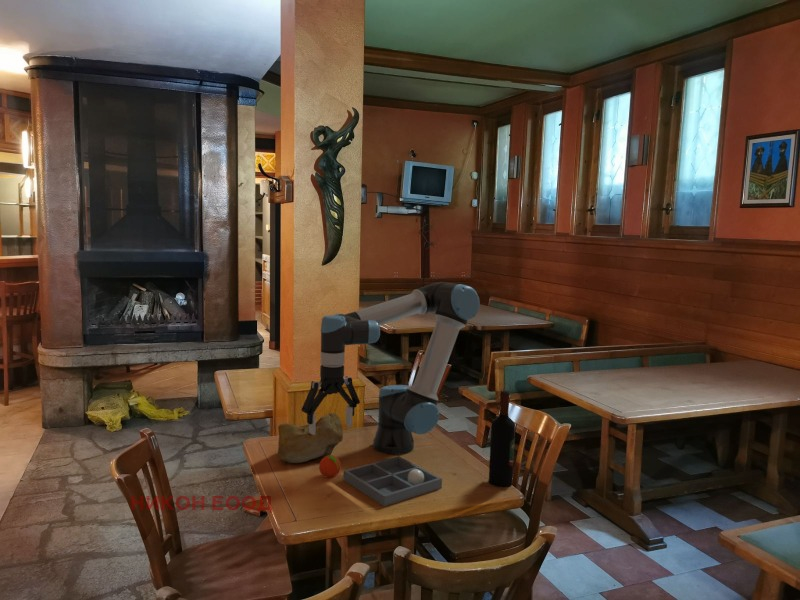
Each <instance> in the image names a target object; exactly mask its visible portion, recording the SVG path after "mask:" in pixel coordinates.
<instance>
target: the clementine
mask: <svg viewBox="0 0 800 600" xmlns="http://www.w3.org/2000/svg"><path fill="white" fill-rule="evenodd" d="M341 465H342V464H341V462H340V459H339V458H338V457H336V456H335V455H332V454H331V455H328V456H326V457H323V458H322V459H321V460H320V461H319V466H318V468H319V472H320V473H321V475H322V476H323V477H324V478H334V477H335V476H338V474H339V473H340V472H341Z"/></svg>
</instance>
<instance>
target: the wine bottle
mask: <svg viewBox="0 0 800 600" xmlns="http://www.w3.org/2000/svg"><path fill="white" fill-rule="evenodd" d="M499 396H500V398H499V413H498V416H497V417H496V418H494V419H493V420H492V422H491V425H490V427H491V428H490V446H489V447H490V448H489V449H490V450H489V467H488V469H489V470H488V484H490V485H491V486H493V487H496V488H509V487H511V486H512V485H513V477H514V460H515V458H514V455H515V438H516V436H515V435H516V423H515V422H514V421H513V419H511V417H510V416H509V405H510V391H509V390H501V391H500V393H499Z"/></svg>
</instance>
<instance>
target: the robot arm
mask: <svg viewBox="0 0 800 600" xmlns="http://www.w3.org/2000/svg"><path fill="white" fill-rule="evenodd" d="M480 301H481V300H480V297H479V295H478V293H477V291H476V290H475V288H473V287H471V286H469V285H466V284H463V283H452V282H447V281H439V282H435V283H431V284H427V285H425V286H422V287H418V288H416V289H414V290H412V291H411V293H409V294H406V295H405V294H404V295H403V296H400V297H396V298H392V299H390V300H387V301H383V302H381V303H378V304H373V305H371V306H368V307H365V308H362V309H359V310H354V311H352V312H349V313H346V314H343V313H335V314H331V315H328V314H327V315H325V316H323V317H322V318H321V322H320V323H321V324H320V325H321V326H320V364H321V365H320V371H319V372H320V373H319V374H320V375H319V376H320V381H315V380H312V381H311V383H310V389H309V391H308V394H307V395H306V398H305V400H304V403H303V405H302V407H301V409H300V411H301V412H303V413H305V414H306V422H307V425H308V424H309V433H311V434H313V435H315V433H316V423H317V421H316V419H317V414H316V413H315V412H316V410H317V409H318V408H319V406H320V405H321V403H322V401H324V399H325V398H326V397H327V396H330V395H333V394H335V395H336V394H339V395H340V396H341V398H343V400H344V401H345V402H346V404H347V405H346V406H345V426H347V427H349V428H352V427H353V417H354V416H355V408H357V405H360V403H361V401H360V399H359V396H358V394H357V392H356V388H355V387H354V383H353V378H352V377H350V376H346V375H345V365H344V364H345V359H346V358H345V356H346V355H345V353H346V351H345V347H346V346H352V345H354V346H355V345H364V344H365V345H369V344H375V343H377V342H378V341H379V339H380V336H381V328H380V327H381V326H384V325H386V324H390V323H393V322H396V321H398V320H401V319H404V318H408V317H410V316H413V315H416V314H417V315H418V314H419V315H425V314H429V313H434V317H435V320H436V323H435V326H434V328H433V331H432V332H431V336H430V339H429V341H428V345H427V347H426V350H425V351H424V355H423V357H422V360H421V363H420V366H419V368H418V370H417V374H416V376H415V379H414V382H413V384H412V385H410V386H409V385H405V384H390V385H385V386H382V387H381V388H380V389H379V392H378V419H377V420H378V425H377V429H376V432H375V435H374V438H373V440H372V449H374V450H375V451H376V452H379V453H382V454H385V455H386V454H387V455H404V454H407V453H410V452H411V451H412V452H413V450H414V449H415V448H414V447H415V441H414V437H413V433H414V434H416V435H425V434H427V433H428V432H431V431H432V430H433V429H435V427H436V426H437V424H438V422H439V419H440V412H439V408H438V407H437V405H438V403H439V397H438V396H437V393H438V390H439V387H440V384H441V381H442V378H443V376H444V373H445V370H446V368H447V365H448V362H449V360H450V357H451V355H452V352H453V348H454V346H455V344H456V341H457V338H458V335H459V333H460V330H461V329H464V328H465V327H466V326H467V324H468V321H469V320H471V319H473V318H474V317H476V316H477V314H478V313H479V310H480V305H481V304H480V303H481V302H480ZM344 376H345V377H344ZM344 384H345V386H346V388H347V392H348V393H349V395H348V393H347V392H346V390H345V389H344V387H343V386H344Z"/></svg>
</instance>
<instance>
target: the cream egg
mask: <svg viewBox="0 0 800 600" xmlns="http://www.w3.org/2000/svg"><path fill="white" fill-rule="evenodd" d="M408 482H409V483H410V484H412V485H417V484H421V483H423V482H424V474H423V472H422V471H420V470H418V469H413V470H411V471H410V472H409V474H408Z"/></svg>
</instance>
